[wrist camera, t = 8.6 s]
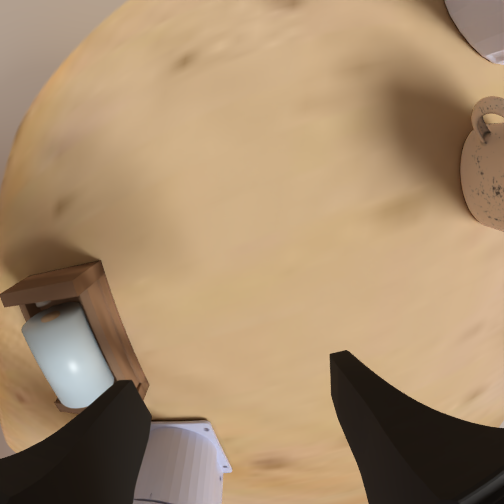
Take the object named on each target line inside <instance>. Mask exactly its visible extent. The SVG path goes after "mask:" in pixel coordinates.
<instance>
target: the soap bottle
mask: <svg viewBox="0 0 504 504" xmlns="http://www.w3.org/2000/svg"><path fill="white" fill-rule="evenodd" d="M445 4H446V7H447V9H448V12H449V14H450V16H451V18H452V20H453V21H454V23H455V24H456V26H457V28H458V29H459V31H460V32H461V34H462V35H463V36H464V37H465V38H466V40H467V41H468V42H469V44H470V45H471V46H472V47H473V48H474V49H475V50H476V51H477V52H478V53H479V54H480V55H481V56H483V57H484V58H486V59H488V60H489V61H491V62H492V63H497V64H502V65H503V64H504V0H445Z"/></svg>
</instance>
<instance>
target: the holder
mask: <svg viewBox="0 0 504 504" xmlns="http://www.w3.org/2000/svg"><path fill="white" fill-rule="evenodd" d="M0 297H1V300H2V303H3V305H4V307H9V306H16V305H19V306H20V309H21V311H22V313H23V316H24V318H25V321H26V322H27V321H28V320H29V319H30V318H32V317H33V316H34V315H36V314H38V313H39V312H41V311H43V310H45V309H47V308H50V307H52V306H55V305H58V304H62V303H66V302H78V303H80V304H81V306H82V308H83V311H84V313H85V316H86V318H87V321H88V323H89V326H90V328H91V330H92V333H93V335H94V337H95V339H96V342H97V344H98V346H99V348H100V350H101V352H102V355H103V357H104V359H105V361H106V363H107V365H108V367H109V369H110V371H111V373H112V375H113V377H114V383H115V382H117V381H118V380H132V381H133V383H134V384H135V386H136V388H137V390H138V392H139V394H140V396H141V398H142V400H144V397H145V395H146V392H147V390H148V387H149V383H148V381H147V379H146V377H145V375H144V373H143V371H142V368H141V366H140V364H139V362H138V360H137V357H136V355H135V353H134V350H133V348H132V346H131V343H130V341H129V339H128V336H127V334H126V331H125V329H124V326H123V324H122V321H121V318H120V316H119V313H118V310H117V308H116V305H115V302H114V299H113V296H112V294H111V291H110V288H109V285H108V282H107V278H106V275H105V272H104V269H103V266H102V262H101V260H100V261H95V262H91V263H86V264H81V265H77V266H72V267H68V268H63V269H59V270H54V271H50V272H46V273H41V274H37V275H33V276H29V277H27V278H25V279H24V280H22V281H20V282H19V283H17V284H15V285H14V286H12V287H11V288H9V289H7V290H6V291H4V292H3V293H1V294H0ZM114 383H113V384H114ZM55 405H56V406H57V408H58V409H59V410H60V411H61V412H68V413H76V414H80V413H81V412H82V411H83V410H84V409H86V408H87V407H88V406H87V407H83V408H69V407H66V406H64V405H63V404H62V403H61V401H60V400H59V398H57V400H56V401H55Z"/></svg>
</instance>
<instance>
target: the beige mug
mask: <svg viewBox="0 0 504 504" xmlns="http://www.w3.org/2000/svg"><path fill="white" fill-rule="evenodd" d="M489 113H493V114H498V115H500V116H502V117H504V99H503V98H500V97H495V96H490V97H485V98H483V99H481V100H480V101H478V102H477V104H476V105H475V107H474V109H473V111H472V115H471V122H472V126H473V130H472V131H471V133H470V134H469V135H468V137H467V139H466V141H465V144H464V147H463V150H462V155H461V163H460V176H461V185H462V190H463V194H464V198H465V201H466V203H467V206H468V208H469V210H470V212H471V213H472V215H473V216H474V217H475V218H476V219H477V220H478V221H479V222H480V223H481V224H483V225H485V226H488V227H491V228H494V229H497V230H500V231H503V232H504V123H494V124H485V122H484V120H483V117H482V116H483V115H485V114H489Z"/></svg>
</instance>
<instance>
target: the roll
mask: <svg viewBox="0 0 504 504" xmlns="http://www.w3.org/2000/svg"><path fill="white" fill-rule="evenodd" d="M22 333H23V335H24V337H25V339H26V341H27V344H28V346H29V348H30V350H31V352H32V353H33V355H34V357H35V359H36V361H37V363H38V365H39V367H40V368H41V370H42V372H43V374H44V375H45V377H46V379H47V381H48V382H49V384H50V386H51V387H52V389H53V390H54V392H55V394H56V395H57V397H58V398H59V400H60V401H61V403H62V404H63V405H64V406H66V407H69V408H83V407H87V406H89V405H90V404H91V403H92V402H94V401H95V400H96V399H97V398H98V397H99V396H100V395H101V394H102V393H104V392H105V391H106V390H107V389H108V388H109V387H110V386H112V385H113V383H114V377H113V375H112V373H111V371H110V369H109V367H108V365H107V363H106V361H105V359H104V357H103V355H102V352H101V350H100V348H99V346H98V344H97V342H96V339H95V337H94V335H93V333H92V330H91V328H90V326H89V323H88V321H87V318H86V316H85V313H84V311H83V308H82V306H81V304H80V303H78V302H66V303H62V304H58V305H55V306H52V307H50V308H47V309H45V310H43V311H41V312H39V313H38V314H36V315H34V316H33V317H32V318H30V319H29V320H28V321H27V322H26V323H25V324H24V325H23V327H22Z"/></svg>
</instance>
